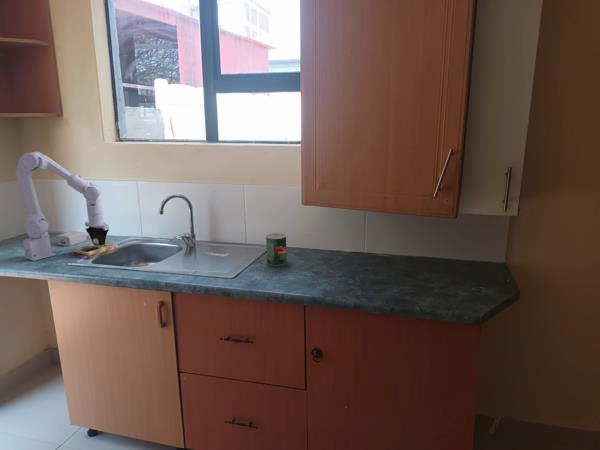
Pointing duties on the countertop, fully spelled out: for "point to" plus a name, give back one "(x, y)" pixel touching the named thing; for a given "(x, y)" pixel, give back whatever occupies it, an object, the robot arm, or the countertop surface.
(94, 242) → the peg
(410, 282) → the countertop surface
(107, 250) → the keyhole plate
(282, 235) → the canned tomato
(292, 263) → the countertop surface
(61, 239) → the charger
